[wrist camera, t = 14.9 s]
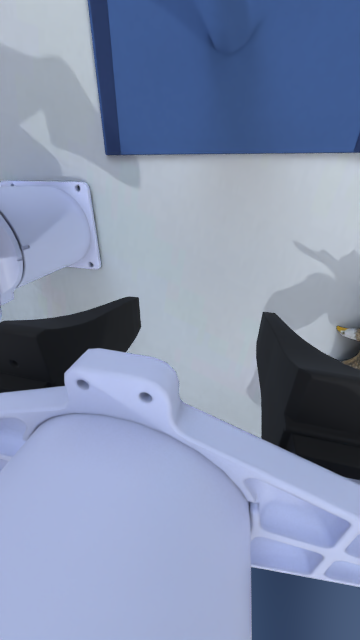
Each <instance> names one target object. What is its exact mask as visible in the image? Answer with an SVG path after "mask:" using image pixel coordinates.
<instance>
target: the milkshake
mask: <svg viewBox="0 0 360 640" xmlns="http://www.w3.org/2000/svg"><path fill="white" fill-rule="evenodd" d="M194 3H195V5H196V8H197V10H198V12H199V15H200V17H201V20H202V22H203V24H204V27H205V29H206V31H207V33H208V35H209V37H210V39H211V41H212V43H213V45H214V47H215V49H216V50H219V51H222V52H225V53H228V54H232V53H234V52H236V51H237V50H239V49H241V48H243V47H244V46H246V45H247V44H248V42H249V40H250V38H251V37H252V35H253V33H254V31H255V30H256V28H257V26H258V24H259V20H260V15H261V10H262V5H263V0H194Z"/></svg>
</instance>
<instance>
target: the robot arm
mask: <svg viewBox="0 0 360 640" xmlns="http://www.w3.org/2000/svg"><path fill="white" fill-rule="evenodd" d="M14 185H15V186H14ZM78 185H79V187H80V191H79V190H78ZM91 262H92V263H93V266H92V265H91ZM64 267H76V268H87V269H99V268H100V267H101V260H100V254H99V247H98V240H97V234H96V227H95V221H94V214H93V208H92V201H91V194H90V188H89V185H88V184H87V183H86V182H57V181H1V183H0V306H1V305H3V304H5V303H7V302H9V301H11V300H13V299H14V295H13V294H14V290H15V289H16V288H19V287H21V286H23V285H25V284H28V283H30V282H32V281H34V280H37V279H39V278H41V277H43V276H46V275H48V274H50V273H52V272H55V271H57V270H59V269H61V268H64ZM1 317H2V311H1V307H0V320H1ZM140 328H141V321H140V309H139V298H138V297H125V298H122V299H119V300H116V301H113V302H110V303H108V304H105V305H102V306H99V307H96V308H93V309H90V310H87V311H84V312H80V313H76V314H71V315H66V316H60V317H55V318H47V319H37V320H15V321H3V322H1V323H0V640H252V637H251V636H252V634H251V567H256V568H262V569H267V570H272V571H277V572H283V573H288V574H294V575H299V576H304V577H310V578H315V579H320V580H326V581H331V582H336V583H342V584H347V585H352V586H357V587H360V370H358V369H356V368H353V367H351V366H349V365H346V364H344V363H342V362H340V361H338V360H336V359H334V358H332V357H330V356H328V355H326V354H325V353H323V352H321V351H319V350H318V349H316V348H315V347H313V346H312V345H310V344H309V343H307V342H306V341H305V340H303V339H302V338H301V337H300V336H298V335H297V334H296V333H295V332H294V331H293V330H292V329H291V328H289V327H288V326H287V325H286V324H285V323H284V322H283V321H282V320H281V319H280V318H279V317H278V316H277V315H276V314H275V313H269V312H263V314H262V319H261V324H260V329H259V334H258V338H257V345H256V359H257V367H258V374H259V381H260V388H261V407H262V439H261V438H259V437H257V436H255V435H252V434H250V433H248V432H246V431H244V430H242V429H240V428H237V427H235V426H233V425H231V424H229V423H227V422H225V421H222V420H220V419H218V418H216V417H214V416H212V415H210V414H207V413H205V412H203V411H201V410H199V409H197V408H195V407H192V406H190V405H188V404H186V403H184V402H183V401H182V400H181V399H180V395H179V380H178V377H177V373H176V371H175V370H174V369H173V368H172V367H171V366H170V365H169V364H168V363H167V362H165V361H162V360H159V359H157V358H154V357H149V356H143V355H137V354H131V353H126V351H127V350H128V348H129V347H130V346H131V344H132V343H133V341H134V340H135V338H136V336H137V334H138V332H139V330H140Z"/></svg>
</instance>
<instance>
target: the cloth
mask: <svg viewBox="0 0 360 640" xmlns="http://www.w3.org/2000/svg"><path fill="white" fill-rule="evenodd" d="M88 7H89V15H90V24H91V33H92V41H93V50H94V59H95V67H96V76H97V84H98V93H99V102H100V110H101V119H102V128H103V136H104V145H105V154H106V155H160V154H260V153H360V0H263V5H262V10H261V15H260V20H259V24H258V26H257V28H256V30H255V31H254V33H253V35H252V37H251V38H250V40H249V42H248V44H247V45H246V46H244V47H243V48H241V49H239V50H237V51H236V52H234V53H232V54H228V53H225V52H222V51H219V50H216V49H215V47H214V45H213V43H212V41H211V39H210V37H209V35H208V33H207V31H206V29H205V27H204V24H203V22H202V20H201V17H200V15H199V12H198V10H197V8H196V5H195V3H194V0H88Z"/></svg>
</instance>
